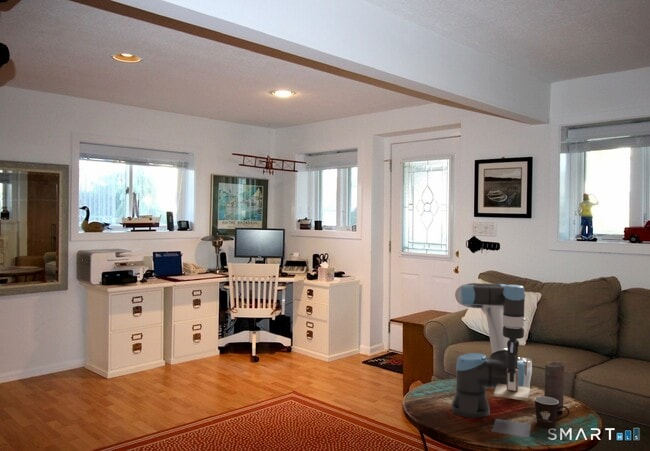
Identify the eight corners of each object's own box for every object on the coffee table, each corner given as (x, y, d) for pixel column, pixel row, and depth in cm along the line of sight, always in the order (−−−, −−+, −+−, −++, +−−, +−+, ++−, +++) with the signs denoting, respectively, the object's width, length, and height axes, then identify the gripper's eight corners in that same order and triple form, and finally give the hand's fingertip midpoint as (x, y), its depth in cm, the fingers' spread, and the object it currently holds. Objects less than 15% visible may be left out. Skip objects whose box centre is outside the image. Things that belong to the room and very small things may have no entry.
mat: (491, 432, 196) (491, 431, 196) (495, 419, 208) (495, 418, 208) (529, 439, 191) (529, 437, 191) (531, 425, 203) (531, 424, 203)
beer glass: (532, 391, 241) (533, 358, 240) (529, 395, 235) (530, 362, 235) (517, 388, 245) (517, 356, 244) (513, 392, 239) (514, 360, 238)
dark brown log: (565, 414, 214) (566, 365, 213) (546, 413, 215) (547, 364, 214) (560, 407, 221) (561, 360, 220) (542, 406, 223) (543, 359, 222)
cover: (493, 395, 196) (494, 371, 196) (497, 385, 207) (497, 363, 207) (528, 400, 191) (528, 376, 191) (530, 390, 202) (530, 367, 202)
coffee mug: (529, 425, 203) (529, 399, 203) (541, 419, 208) (542, 394, 208) (558, 435, 194) (558, 408, 194) (570, 429, 199) (570, 403, 199)
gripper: (522, 332, 189) (521, 396, 190) (525, 322, 204) (524, 382, 205) (500, 330, 192) (499, 393, 193) (505, 321, 208) (504, 379, 208)
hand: (512, 387), depth 199 cm, fingers closed on cover, 4 cm apart
